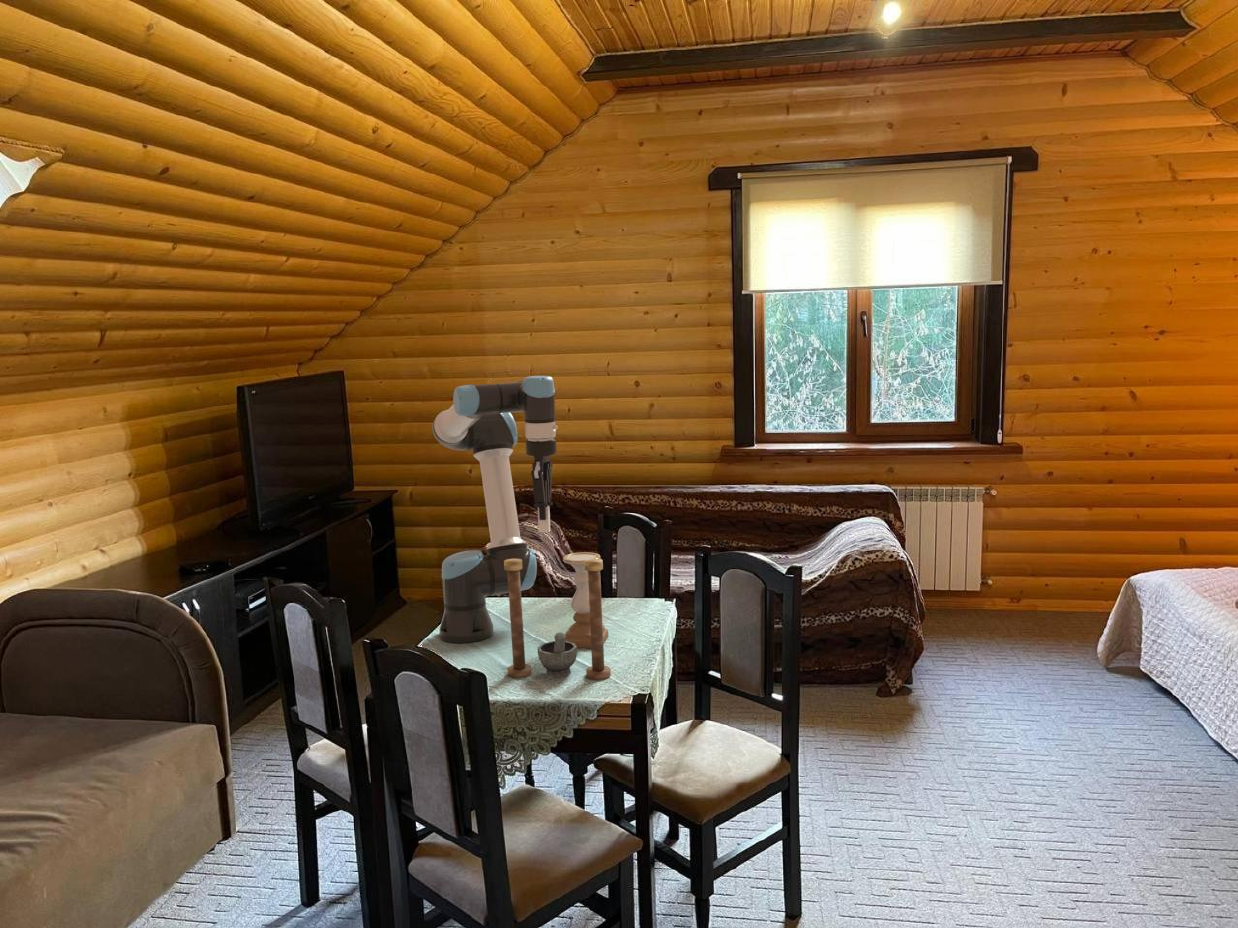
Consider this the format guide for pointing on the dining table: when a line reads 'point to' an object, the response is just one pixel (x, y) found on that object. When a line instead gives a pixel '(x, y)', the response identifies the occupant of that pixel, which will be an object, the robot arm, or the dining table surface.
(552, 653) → the mortar and pestle
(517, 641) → the left candlestick
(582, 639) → the candle holder
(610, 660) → the dining table surface
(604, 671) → the right candlestick
